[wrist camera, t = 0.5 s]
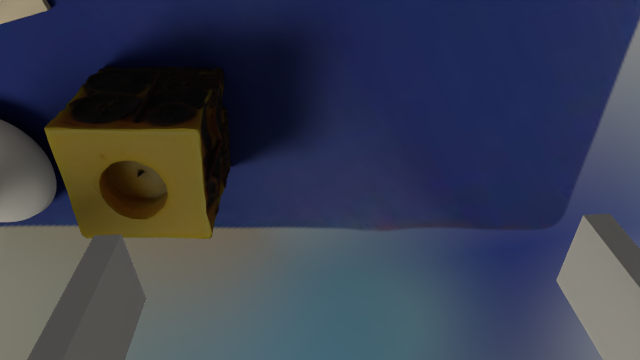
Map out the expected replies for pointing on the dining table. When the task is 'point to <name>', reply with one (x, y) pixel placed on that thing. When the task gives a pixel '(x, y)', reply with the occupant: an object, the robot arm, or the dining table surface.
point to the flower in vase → (23, 175)
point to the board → (21, 9)
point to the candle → (145, 151)
